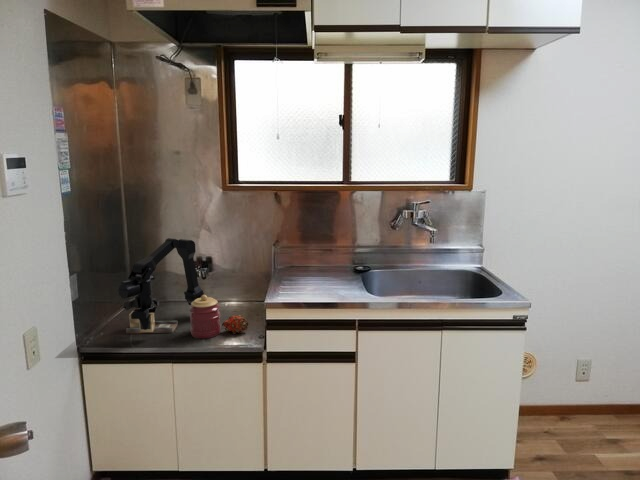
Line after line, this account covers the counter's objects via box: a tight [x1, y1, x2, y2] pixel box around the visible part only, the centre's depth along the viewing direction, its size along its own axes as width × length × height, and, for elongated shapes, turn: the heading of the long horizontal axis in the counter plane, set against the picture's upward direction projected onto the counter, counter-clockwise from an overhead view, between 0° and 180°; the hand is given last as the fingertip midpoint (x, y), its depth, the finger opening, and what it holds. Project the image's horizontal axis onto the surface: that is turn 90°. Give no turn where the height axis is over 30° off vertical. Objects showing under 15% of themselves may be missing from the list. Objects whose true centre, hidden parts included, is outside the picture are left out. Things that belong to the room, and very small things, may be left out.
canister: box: [188, 294, 222, 339], centre depth 198 cm, size 13×13×18 cm
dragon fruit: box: [221, 314, 249, 335], centre depth 200 cm, size 8×8×12 cm
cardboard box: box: [139, 313, 156, 332], centre depth 191 cm, size 5×5×7 cm
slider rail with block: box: [125, 310, 179, 335], centre depth 204 cm, size 20×9×8 cm, turn 93°
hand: (147, 327), depth 191 cm, fingers closed on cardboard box, 5 cm apart
